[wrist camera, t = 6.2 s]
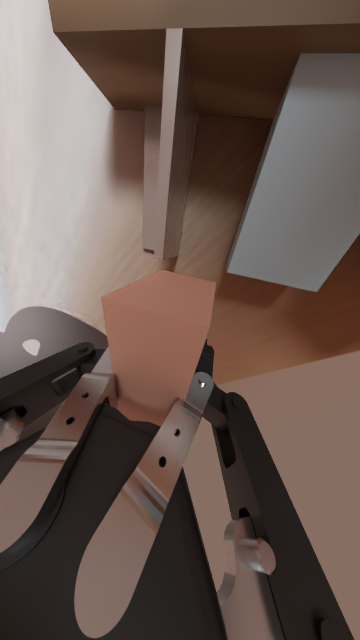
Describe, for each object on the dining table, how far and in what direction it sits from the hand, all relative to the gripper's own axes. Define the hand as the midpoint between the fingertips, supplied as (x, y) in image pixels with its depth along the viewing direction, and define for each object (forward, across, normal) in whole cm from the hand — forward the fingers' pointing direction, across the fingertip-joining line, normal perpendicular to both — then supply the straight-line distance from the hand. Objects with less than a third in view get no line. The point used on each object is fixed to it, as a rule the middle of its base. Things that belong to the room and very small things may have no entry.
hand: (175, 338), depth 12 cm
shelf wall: (+7, 0, -17) cm, 18 cm away
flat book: (+7, -6, -11) cm, 14 cm away
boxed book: (0, 0, 0) cm, 1 cm away
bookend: (+7, +5, -11) cm, 14 cm away
